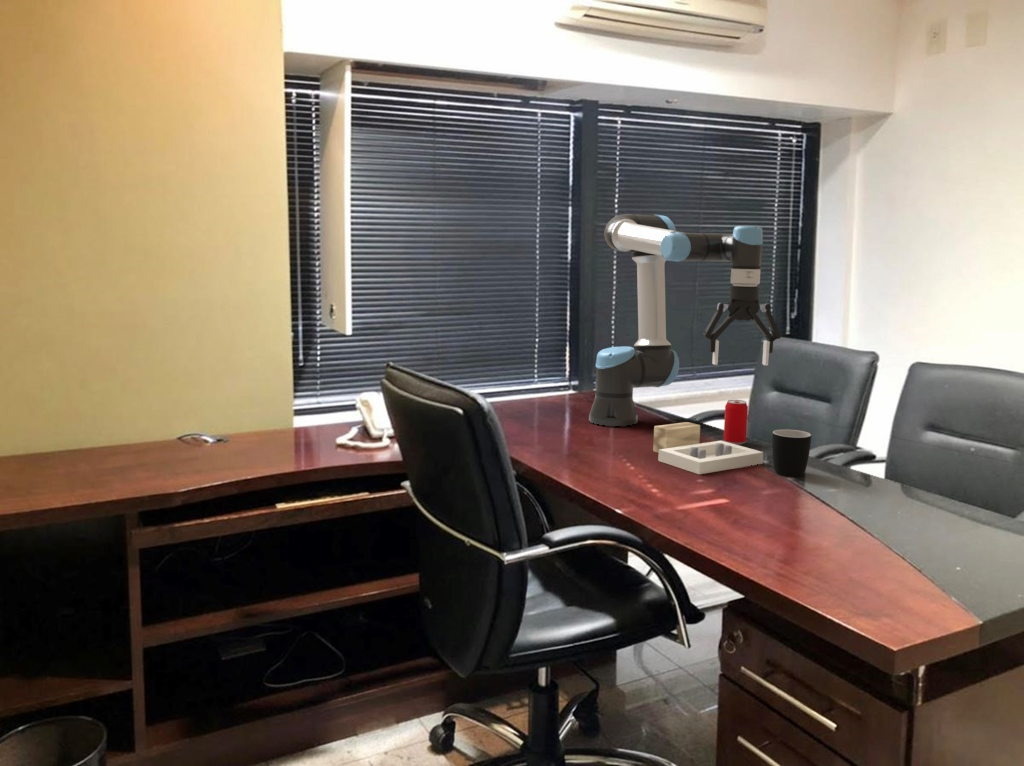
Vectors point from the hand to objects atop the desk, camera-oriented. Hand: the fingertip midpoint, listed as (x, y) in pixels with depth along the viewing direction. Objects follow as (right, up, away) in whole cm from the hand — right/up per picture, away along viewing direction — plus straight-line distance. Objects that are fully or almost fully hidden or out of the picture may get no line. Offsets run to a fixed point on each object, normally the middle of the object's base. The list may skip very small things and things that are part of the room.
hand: (740, 364), depth 229 cm
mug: (+7, -27, -18) cm, 33 cm away
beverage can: (+2, -22, +13) cm, 25 cm away
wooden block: (-17, -23, +3) cm, 29 cm away
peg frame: (-10, -25, -10) cm, 29 cm away
